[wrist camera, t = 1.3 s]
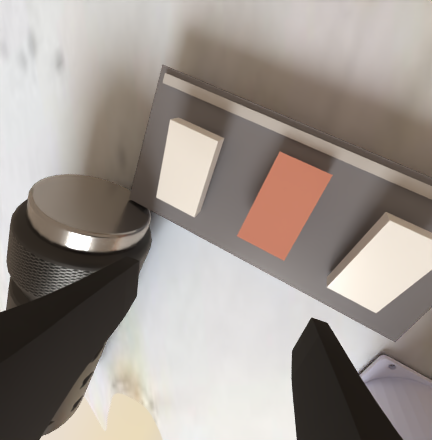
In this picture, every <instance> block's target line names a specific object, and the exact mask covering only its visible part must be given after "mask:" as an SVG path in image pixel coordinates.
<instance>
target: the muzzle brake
mask: <svg viewBox="0 0 432 440" xmlns="http://www.w3.org/2000/svg"><path fill="white" fill-rule="evenodd" d="M130 193H131V190H129V189H127V188H125V187H123V186H121V185H119V184H116V183H113V182H111V181H108V180H104V179H101V178H97V177H92V176H85V175H75V174H64V175H55V176H50V177H47V178H44V179H41V180H40V181H38V182H37V183H35V184H34V185H33V186H32V188H31V189H30V191H29V195H28V199H27V200H26V201H24V202H23V203H22V204H21V205H19V206H18V208H17V209H16V210H15V212H14V213H13V215H12V218H11V223H10V232H9V242H8V251H7V267H8V272H9V274H10V276H11V277H10V283H9V290H8V299H7V307H6V310H8V309H11V308H14V307H17V306H19V305H22V304H25V303H27V302H30V301H32V300H35V299H38V298H40V297H42V296H45V295H47V294H49V293H52V292H54V291H56V290H58V289H61V288H63V287H65V286H67V285H70V284H72V283H74V282H76V281H78V280H80V279H82V278H84V277H86V276H88V275H90V274H92V273H94V272H96V271H98V270H100V269H102V268H104V267H106V266H108V265H110V264H112V263H114V262H116V261H118V260H120V259H122V258H124V257H126V256H127V257H130V258H133V259H136V260H139V261H140V265H139V272H140V270H141V268H142V265H143V263H144V261H145V259H146V256H147V254H148V252H149V249H150V246H151V240H152V239H151V232H150V228H149V225H150V221H151V213H150V210H149V209H147V208H145V207H144V206H142V205H140V204H138V203H136V202H134V201H132V200H131V199H129V196H130ZM106 342H107V341H106ZM106 342H105V343H104V345H103V346H102V347H101V349H100V350H99V351H98V353H97V354H96V355H95V357H94V358H93V359H92V360H91V362H90V363H89V364H88V366H87V367H86V368H85V370H84V371H83V372H82V374H81V375H80V377H79V378H78V379H77V381H76V382H75V384H74V386H73V387H72V389H71V390H70V392H69V393H68V395H67V396H66V398H65V400H64V401H63V403H62V404H61V406H60V407H59V409H58V410H57V412H56V414H55V415H54V417H53V418H52V420H51V422H50V423H49V425H48V427H47V428H46V430H45V431H44V433H43V435H46V434H48V433H50V432H52V431H54V430H55V429H57V428H59V427H60V426H61V425H62V424H64V423H65V422H66V421H67V420H68V419H69V418H70V417H71V416H72V415H73V414H74V412H75V411H76V410H77V408H78V407H79V405H80V403H81V401H82V398H83V396H84V394H85V392H86V389H87V387H88V385H89V382H90V380H91V377H92V375H93V373H94V370H95V368H96V366H97V363H98V361H99V358H100V356H101V354H102V351H103V349H104V347H105V344H106ZM43 435H42V436H43Z"/></svg>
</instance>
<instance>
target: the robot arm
mask: <svg viewBox="0 0 432 440" xmlns="http://www.w3.org/2000/svg"><path fill="white" fill-rule="evenodd" d="M139 265H140V261H139V260H136V259H133V258H130V257H127V256H126V257H124V258H122V259H120V260H118V261H116V262H114V263H112V264H110V265H108V266H106V267H104V268H102V269H100V270H98V271H96V272H94V273H92V274H90V275H88V276H86V277H84V278H82V279H80V280H78V281H76V282H74V283H72V284H70V285H67V286H65V287H63V288H61V289H58V290H56V291H54V292H52V293H49V294H47V295H45V296H42V297H40V298H38V299H35V300H32V301H30V302H27V303H25V304H22V305H19V306H17V307H14V308H11V309H8V310H6V311H3V312H0V440H39V439H40V438H41V436H42V435H43V433H44V431H45V430H46V428H47V427H48V425H49V423H50V422H51V420H52V418H53V417H54V415H55V414H56V412H57V410H58V409H59V407H60V406H61V404H62V403H63V401H64V400H65V398H66V396H67V395H68V393H69V392H70V390H71V389H72V387H73V386H74V384H75V382H76V381H77V379H78V378H79V377H80V375H81V374H82V372H83V371H84V370H85V368H86V367H87V366H88V364H89V363H90V362H91V360H92V359H93V358H94V357H95V355H96V354H97V353H98V351H99V350H100V349H101V347H102V346H103V345H104V343H105V342H106V341H107V340H108V338H109V337H110V336H111V334H112V333H113V332H114V330H115V329H116V328H117V326H118V325H119V324H120V322H121V321H122V320H123V318H124V317H125V315H126V314H127V312H128V310H129V309H130V307H131V305H132V303H133V302H134V300H135V298H136V297H137V287H138V276H139ZM391 364H393V365H392V366H390V365H391ZM292 391H293V402H294V413H295V424H296V435H297V440H432V380H430V379H429V378H427V377H425V376H423V375H421V374H420V373H418V372H416V371H414V370H412V369H411V368H409V367H407V366H405V365H403V364H401V363H400V362H398V361H396V360H394V359H392V358H391V357H389V356H386V355H381V356H379V357H378V358H377V359H376V360H375V361H374V362H373V363H372V364H371V365H370V366H369V367H368V368H366V369H365V370H364V371H363V372H362V373H361V374H360V375H359V374H358V372H357V371H356V369H355V367H354V366H353V364H352V363H351V361H350V359H349V358H348V356H347V354H346V353H345V351H344V349H343V348H342V346H341V344H340V343H339V341H338V339H337V338H336V336H335V334H334V333H333V331H332V330H331V328H330V326H329V325H328V323H326V322H323V321H320V320H317V319H314V318H311V319H310V321H309V323H308V324H307V326H306V328H305V329H304V331H303V333H302V335H301V336H300V338H299V340H298V341H297V343H296V345H295V347H294V348H293V350H292Z"/></svg>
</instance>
